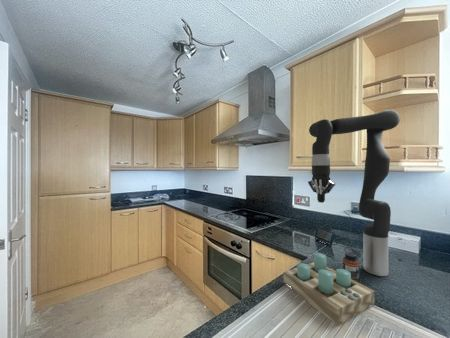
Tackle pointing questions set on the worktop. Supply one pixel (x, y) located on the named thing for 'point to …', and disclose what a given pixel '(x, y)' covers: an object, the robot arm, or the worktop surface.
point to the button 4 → (343, 278)
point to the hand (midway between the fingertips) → (321, 202)
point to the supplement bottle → (351, 265)
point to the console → (331, 295)
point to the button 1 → (303, 272)
